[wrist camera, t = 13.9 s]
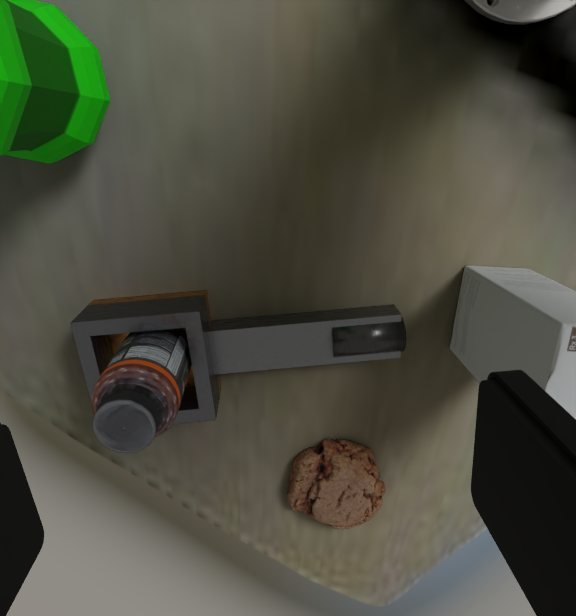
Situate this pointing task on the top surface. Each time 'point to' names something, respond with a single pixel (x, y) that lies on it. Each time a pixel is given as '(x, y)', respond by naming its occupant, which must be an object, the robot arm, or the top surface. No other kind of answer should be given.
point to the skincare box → (518, 328)
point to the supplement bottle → (141, 389)
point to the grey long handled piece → (234, 340)
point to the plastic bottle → (47, 83)
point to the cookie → (336, 484)
